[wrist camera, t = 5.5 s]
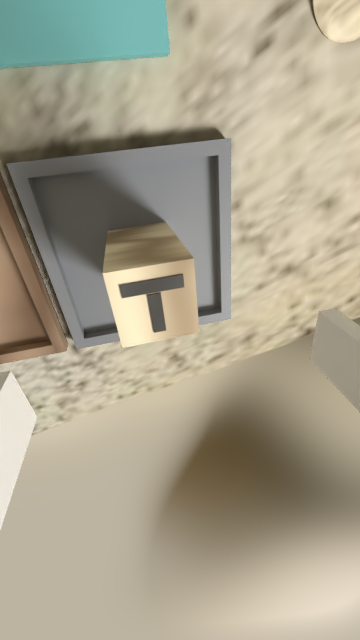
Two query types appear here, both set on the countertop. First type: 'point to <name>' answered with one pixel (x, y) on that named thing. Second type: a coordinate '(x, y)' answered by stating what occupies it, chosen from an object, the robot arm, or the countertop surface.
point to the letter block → (150, 284)
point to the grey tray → (128, 222)
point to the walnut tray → (23, 295)
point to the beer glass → (338, 19)
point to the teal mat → (81, 31)
